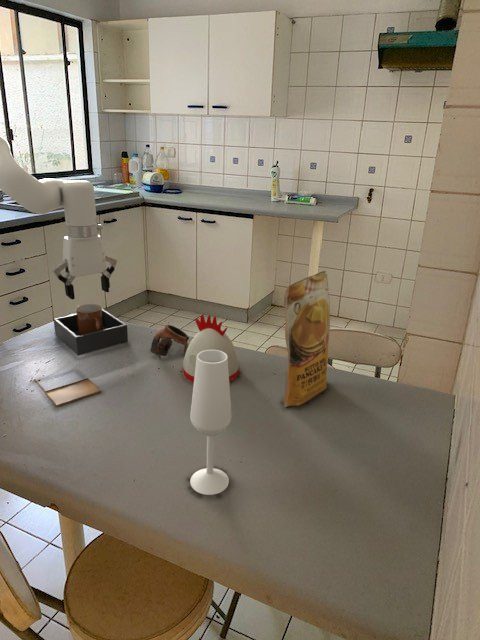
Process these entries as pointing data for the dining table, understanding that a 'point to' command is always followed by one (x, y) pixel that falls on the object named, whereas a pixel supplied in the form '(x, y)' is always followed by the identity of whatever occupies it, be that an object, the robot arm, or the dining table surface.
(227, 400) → the champagne flute
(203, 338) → the kitchen timer
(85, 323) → the brown mug
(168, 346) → the pottery mug
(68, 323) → the dark grey open box
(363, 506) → the dining table surface
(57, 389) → the wooden flat board
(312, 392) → the pancake mix bag
